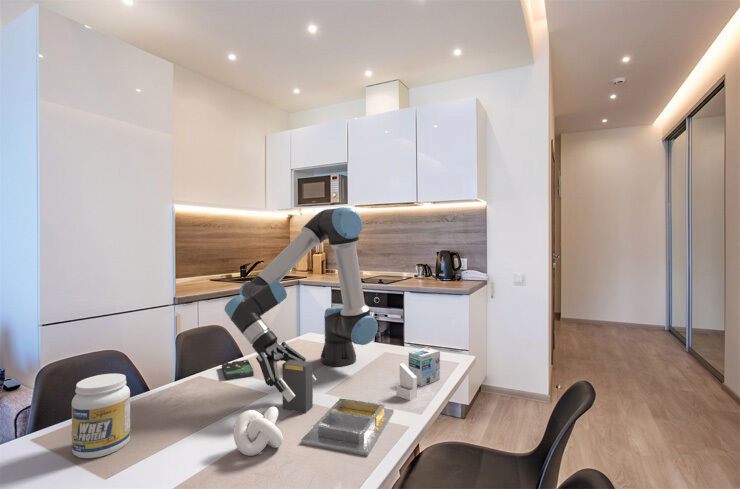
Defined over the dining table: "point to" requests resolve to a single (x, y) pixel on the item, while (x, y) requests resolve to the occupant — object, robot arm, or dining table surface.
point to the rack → (349, 427)
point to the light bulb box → (425, 365)
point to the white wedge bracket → (407, 384)
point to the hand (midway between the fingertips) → (303, 390)
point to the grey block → (298, 385)
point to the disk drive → (237, 370)
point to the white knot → (257, 431)
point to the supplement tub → (100, 415)
